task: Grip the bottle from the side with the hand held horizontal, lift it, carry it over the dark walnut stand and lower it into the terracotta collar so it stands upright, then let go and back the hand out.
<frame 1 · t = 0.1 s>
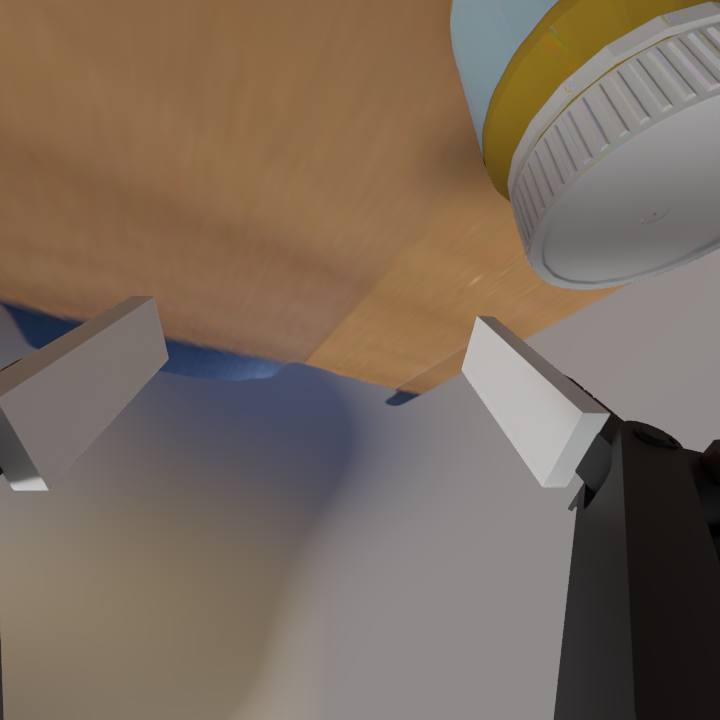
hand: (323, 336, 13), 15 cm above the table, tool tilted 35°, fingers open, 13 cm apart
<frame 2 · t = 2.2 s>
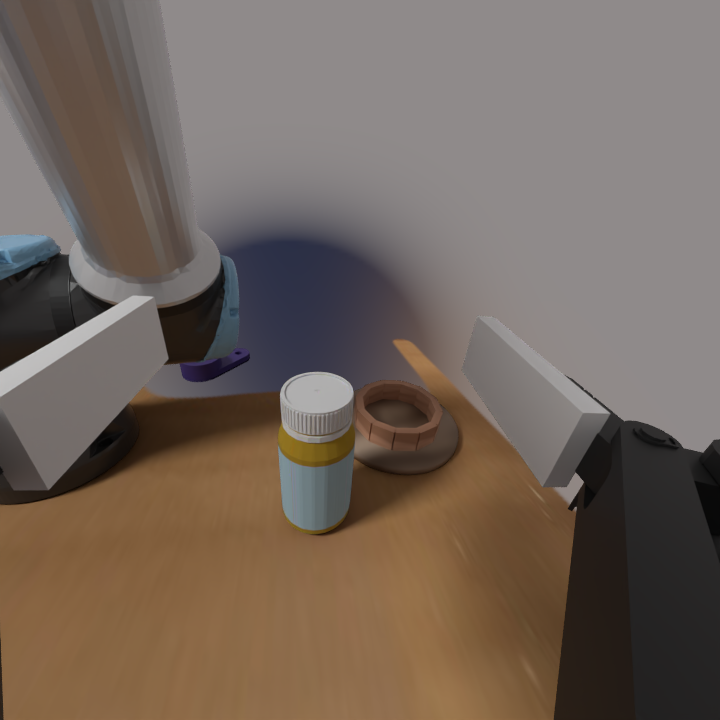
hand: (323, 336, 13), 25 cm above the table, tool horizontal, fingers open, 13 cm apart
bottle holder: (394, 425, 47), on the table
bottle: (316, 507, 34), on the table
lever: (218, 367, 57), on the table
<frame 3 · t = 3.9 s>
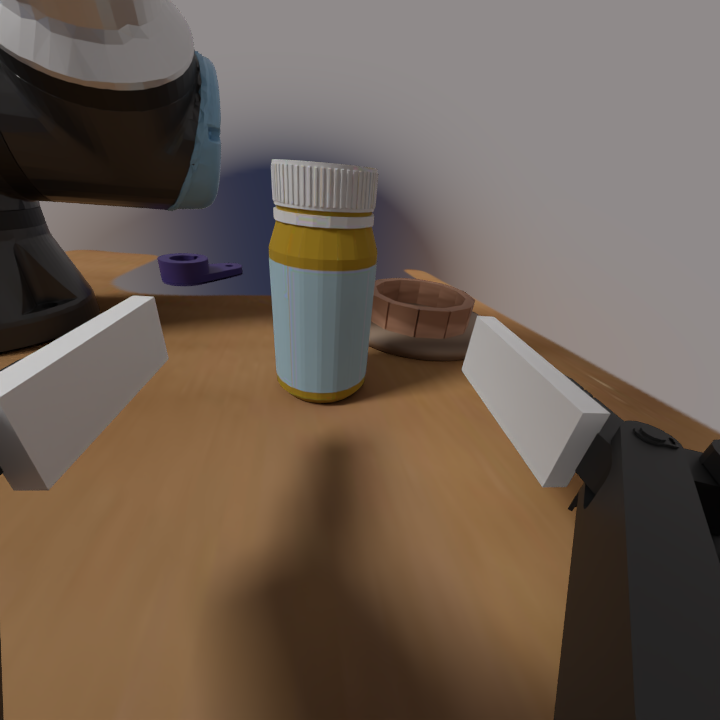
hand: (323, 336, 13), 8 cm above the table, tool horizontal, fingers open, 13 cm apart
bottle holder: (414, 324, 38), on the table
bottle: (321, 382, 26), on the table
lever: (206, 278, 49), on the table
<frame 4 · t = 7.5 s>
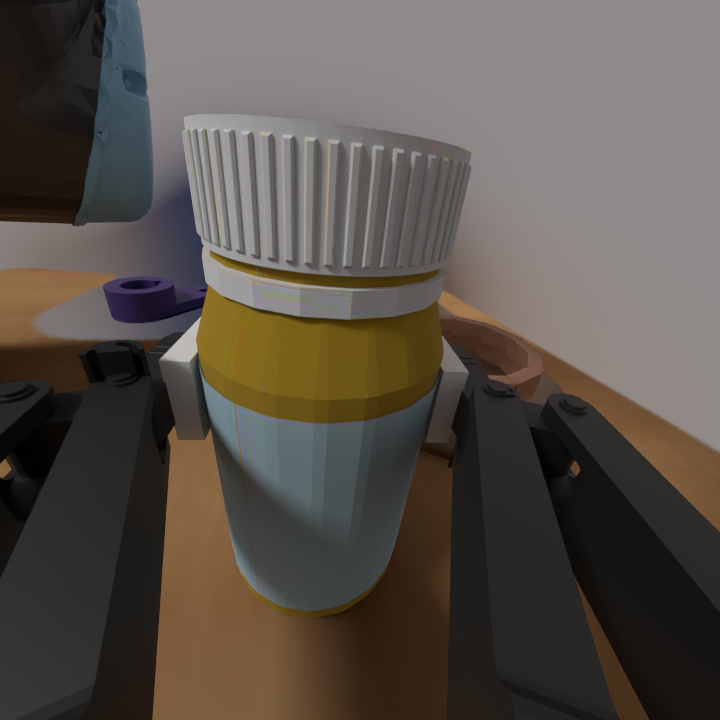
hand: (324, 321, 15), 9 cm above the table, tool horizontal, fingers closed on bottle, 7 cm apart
bottle holder: (449, 383, 27), on the table
bottle: (316, 536, 15), on the table, touching gripper
lever: (173, 308, 38), on the table
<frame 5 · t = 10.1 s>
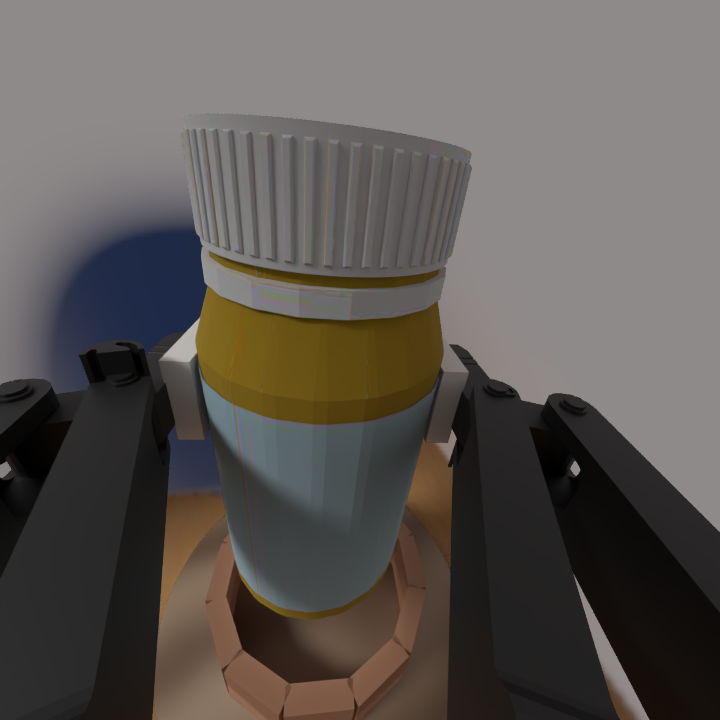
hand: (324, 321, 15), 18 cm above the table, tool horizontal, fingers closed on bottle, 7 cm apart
bottle holder: (318, 598, 21), on the table
bottle: (316, 536, 15), point 9 cm above the table, touching gripper
when the fingers open (11 cm above the table, at t = 12.7 s): bottle drops 1 cm, resting on bottle holder.
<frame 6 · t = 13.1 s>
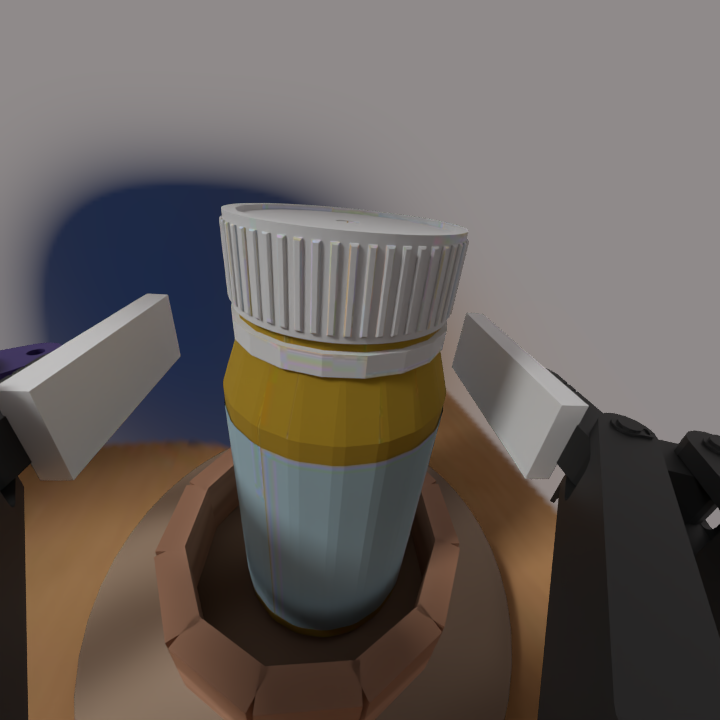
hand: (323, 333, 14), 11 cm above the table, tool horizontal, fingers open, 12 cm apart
bottle holder: (314, 563, 16), on the table
bottle: (326, 555, 15), point 1 cm above the table, touching bottle holder
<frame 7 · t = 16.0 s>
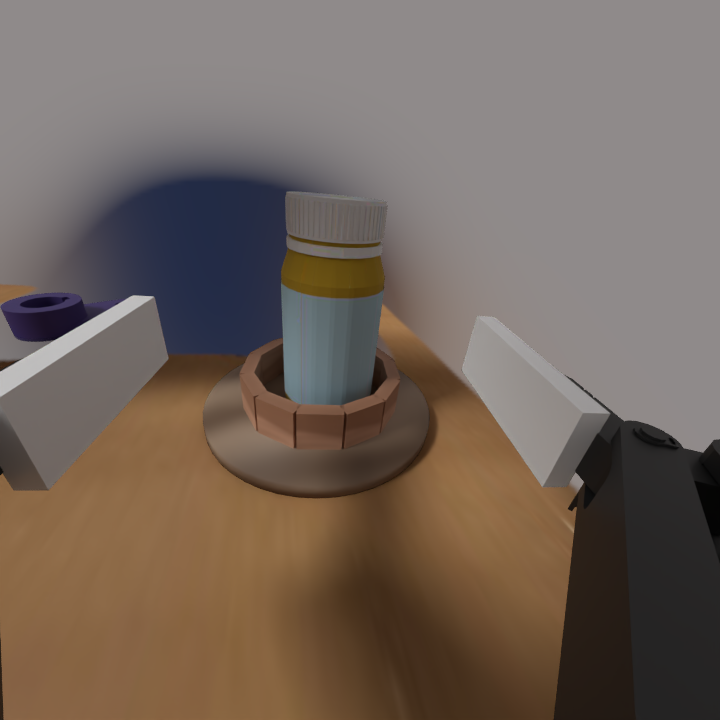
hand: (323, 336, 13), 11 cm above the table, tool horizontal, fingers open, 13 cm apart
bottle holder: (321, 406, 27), on the table
bottle: (327, 399, 27), point 1 cm above the table, touching bottle holder
lever: (85, 323, 37), on the table
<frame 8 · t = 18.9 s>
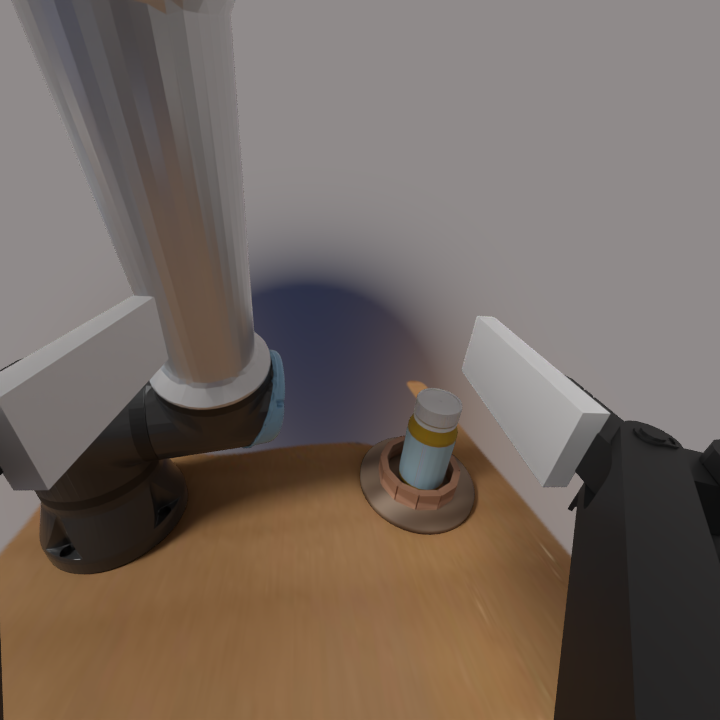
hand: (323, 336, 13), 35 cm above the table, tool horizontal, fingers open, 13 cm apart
bottle holder: (415, 480, 51), on the table
bottle: (419, 477, 51), point 1 cm above the table, touching bottle holder
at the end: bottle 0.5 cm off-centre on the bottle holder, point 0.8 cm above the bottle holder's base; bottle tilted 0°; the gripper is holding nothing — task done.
